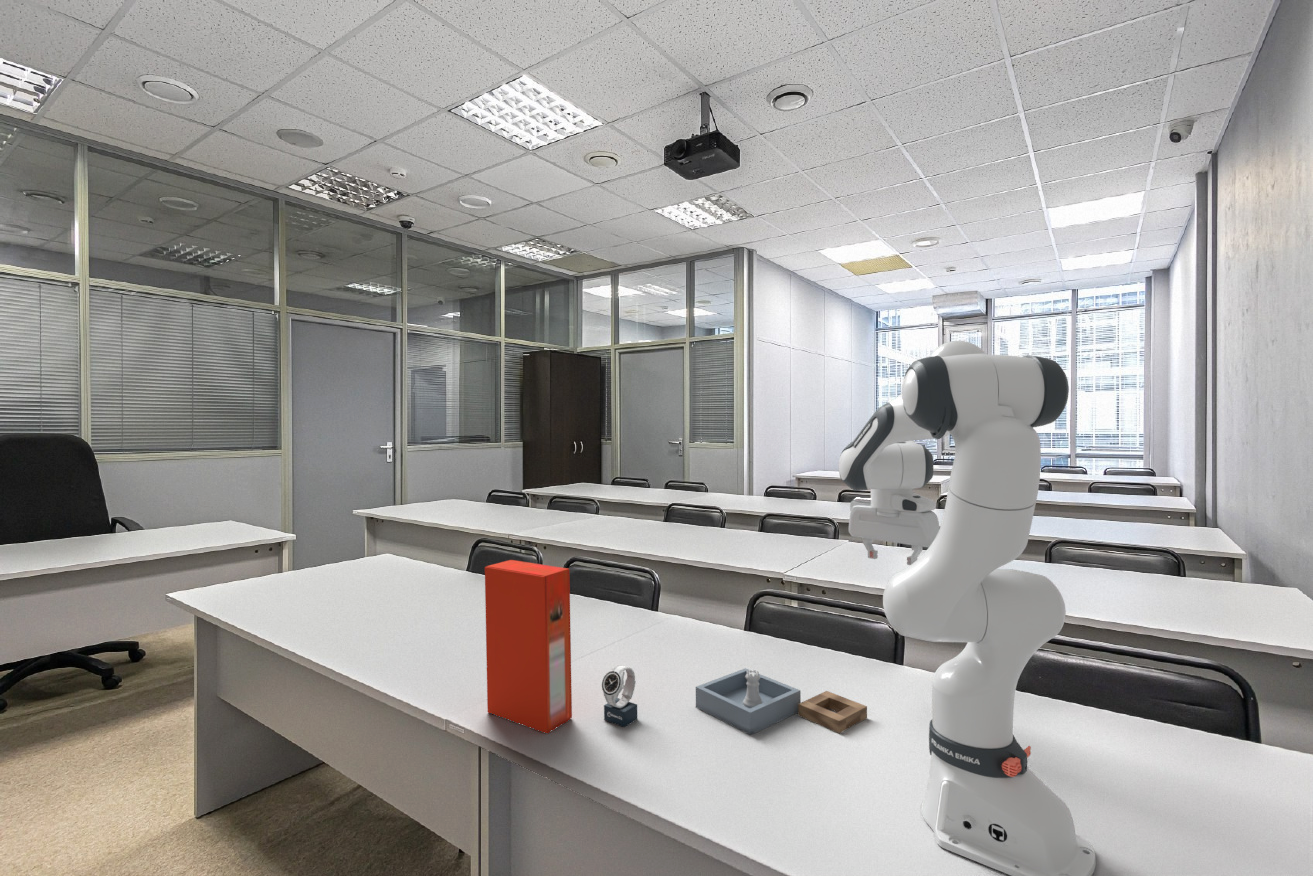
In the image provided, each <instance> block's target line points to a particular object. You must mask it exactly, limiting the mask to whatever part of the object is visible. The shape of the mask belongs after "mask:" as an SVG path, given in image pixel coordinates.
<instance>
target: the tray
mask: <svg viewBox="0 0 1313 876" xmlns="http://www.w3.org/2000/svg"><path fill="white" fill-rule="evenodd" d="M749 670H750V669H748V668H742V669H740V670H737V671H735V672H731V673H728V674H727V675H724V676H722V677H718V678H716V679H714V680H710V681H707V682H705V683H702V684H700V685H697V686H695V708H697V709H698V710H701V711H702V712H705V713H706V714H708V715H710V716H712V717H714V718H716V719H718V720H720V721H722V722H724V723H726V724H728V725H730V726H732V727H734V728H736V729H737V730H740V731H742V732H743V733H745V734H747V735H749V736H752V735H754V734H756V733H758V732H761V731H762V730H764V729H767V728H768V727H771V726H772V725H775V724H777V723H779V722H781V721H783V720H785V719H788V718H790V717H791V716H793V715H796V714H797V713H798V714H799V703H801V700H802V699H801V694H802V693H801V690H800V689H798V688H795V687H794V686H790V685H788V684H786V683H783V682H781V681H778V680H775V679H773V678H771V677H769V676H766V675H763V674H761V673H759V675H760V677H761V678H760V679H759V681H758V682H759V684H760V685H759V695H760V697H761V700H762V701H763V703H762V704H760V705H757V706H755V707H753V708H750V709H749V708H747V707H745V706H743V705H744V704H743V700H744V699H745V696H746V694H747V684H746V683H747V679H746V677H745V676H746V674H747V671H749ZM751 672H753V670H751Z"/></svg>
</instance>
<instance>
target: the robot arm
mask: <svg viewBox="0 0 1313 876" xmlns="http://www.w3.org/2000/svg"><path fill="white" fill-rule="evenodd" d="M910 364H911V365H909V367H908V368H907V369H906V372H905V375H904V378H903V381H902V385H901V394H899V395H898V396H896V397H895V398H893V399H892V400H890V401H889V402H886V403H885V404H883V405H882V406H879V407H878V408H877V410H875V412H874V413H873V415H871V416H870V418H869V419H868V420H867V422H866V423H865V425H863V427H862V429H861V430H860V432H859V433H858V434H857V436H856V437H855V438H854V439H853V440H852V441H851V442H850V443H848V444H847V445H846V447H845V448H844V449H843V450H842V451H841V453H840V456H839V461H838V472H839V477H840V480H841V481H842V482H843V484H844V485H846V486H847V487H849V489H851V490H853V491H854V492H855V491H866V490H867V491H868V490H870V497H861V496H857V497H855V498H853V499H852V500H851V501H850V503H849V507H850V508H849V510H850V511H849V512H850V514H849V522H848V534H850V536H851V537H852V538H853V537H855V538H860V539H861V538H862V543H863V546H864V547H865V549H866V551H867V558H868V559H872V560H876V559H878V550H875V548H874V546H873V544H872V543H874V540H876V541H882V542H889V543H895V544H900V545H901V544H902V545H909V546H911V551H913V552H912V554H911V555H909V556H906V564H907V567H905V568H904V569H902V570H899V571H898V572H896V573H894V574H893V575H892V576H891V577H890V578H889V580H888V581H887V583H886V584H885V588H884V590H883V594H882V607H883V611H884V615H885V616H886V619H887V621H888V623H889V624H890V626H891V627H892V628H893V629H894V630H895V631H896V633H898V634H899V635H900V636H904V637H908V638H912V639H917V640H922V641H926V642H932V643H966V645H965V647H964V649H963V650H962V651H961V652H960V653H958V654H957V655H956V656H955V657H953V658H951V659H949V660H947V661H945V662H943V663H942V664H940V665H939V667H938V668H937V669H936V671H935V672H934V674H933V677H932V680H931V702H932V703H931V704H932V706H931V709H932V711H931V714H932V715H931V720H930V721H929V728H928V729H929V730H928V732H929V733H928V750H929V755H930V767H929V776H928V781H927V786H926V791H925V795H924V798H923V800H922V804H921V807H920V808H921V809H920V810H921V812H920V813H921V816H922V817H923V819H924V821H925V822H926V824H927V825H928V826H929V827H930V828H931V829H932V831H933V832H934V837H935V841H936V843H937V844H938V845H939V847H941V848H943V849H944V850H947V851H949V852H952V853H954V854H956V855H960V856H962V857H964V858H967V859H970V860H971V861H974V862H977V863H979V864H982V865H984V866H986V867H989V868H992V869H993V870H996V871H998V872H1002V873H1003V874H1006V875H1009V876H1093V874H1094V872H1095V870H1096V865H1097V861H1096V860H1097V859H1096V853H1095V850H1094V847H1093V845H1092V844H1091V843H1090V841H1089V840H1087V839H1086V838H1083V837H1081V836H1079V835H1078V834H1077V833H1076V828H1075V827H1076V826H1075V823H1074V820H1073V819H1074V818H1073V816H1072V812H1071V811H1070V809H1069V807H1068V805H1067V804H1066V802H1064V800H1062V799H1061V797H1059V796H1058V795H1057V794H1056V793H1055V792H1054V791H1052V789H1051V788H1050V787H1048V785H1046V784H1045V782H1044V781H1042V780H1041V779H1040V777H1039V776H1037V775H1036V773H1034V772H1033V771H1032V770H1031V769H1030V767H1028V758H1029V757H1030V756H1031V753H1032V751H1031V748H1032V746H1031V745H1028V746H1027V747H1026V748H1024V749H1023V747H1022V746H1021V745H1020V744H1019V742H1018V741H1017V738H1016V737H1015V735H1014V712H1015V711H1014V708H1015V697H1016V696H1015V695H1016V689H1017V685H1018V681H1019V679H1020V676H1021V674H1022V672H1023V670H1024V668H1025V667H1026V665H1027V663H1028V662H1029V661H1030V659H1031V658H1032V656H1033V655H1034V654H1035V653H1036V652H1038V650H1039V649H1040V648H1041V647H1042V646H1043V645H1045V644H1046V643H1047V642H1049V641H1050V640H1052V639H1054V638H1055V637H1057V636H1058V635H1059V633H1060V632H1061V631H1062V628H1063V626H1064V624H1065V621H1066V615H1067V614H1066V611H1067V610H1066V603H1065V600H1064V597H1063V595H1062V594H1061V592H1060V589H1059V588H1058V587H1057V586H1056V584H1054V582H1053V581H1052V580H1051V579H1050V578H1049V577H1047V576H1045V575H1042V574H1038V573H1033V572H1029V571H1023V570H1018V569H1013V568H1012V569H1011V568H1010V569H1009V568H1007V569H1006V568H1000V567H1004V565H1007V564H1009V563H1011V562H1012V561H1014V560H1016V559H1017V558H1019V557H1020V556H1021V555H1022V554H1023V552H1024V550H1025V549H1026V547H1027V546H1028V542H1029V537H1030V533H1031V528H1032V523H1033V519H1034V518H1033V517H1034V513H1035V509H1036V504H1037V499H1038V495H1039V490H1040V489H1039V487H1040V480H1041V479H1040V478H1041V467H1042V464H1041V463H1042V461H1041V460H1042V458H1041V456H1042V453H1041V452H1042V451H1041V449H1042V448H1041V439H1040V436H1039V434H1038V432H1037V431H1036V430H1035V429H1034V428H1038V427H1042V426H1043V427H1044V426H1046V425H1049V424H1052V423H1054V422H1055V421H1056V420H1057V419H1058V418H1059V417H1060V416H1061V415H1062V413H1063V412H1064V410H1065V409H1066V406H1067V403H1068V399H1069V393H1070V392H1069V390H1070V387H1069V380H1068V378H1067V374H1066V373H1065V371H1064V370H1063V368H1062V367H1061V366H1060V364H1059V363H1058V362H1056V361H1055V360H1053V359H1050V358H1047V357H1042V356H1038V355H1029V354H1028V355H1024V356H1019V355H1018V356H1017V355H1005V354H1004V355H1003V354H1002V355H1001V354H987V353H986V352H985V351H984V350H983V349H982V348H981V347H980V346H978V345H976V344H975V343H972V342H969V341H964V340H952V341H951V340H950V341H947V342H944V343H942V344H941V345H939V346H938V347H936V348H935V349H934V350H933V351H932V352H931V354H929V356H927V357H923V358H919V359H916V360H915V361H913V362H912V363H910ZM950 435H951V437H952V439H953V443H954V449H955V450H954V457H953V463H952V468H951V471H950V476H949V483H948V489H947V495H946V502H945V504H944V505H945V506H944V510H943V515H942V519H941V521H940V522H941V523H940V522H939V517H938V515H937V514H936V513H935V512H934V510H935V509H936V507H937V504H936V503H937V502H936V501H935V500H934V499H931V498H929V497H926V496H924V495H921V494H920V493H916V492H914V489H919V488H920V489H921V488H923V487H925V486H927V484H928V483H930V481H931V480H932V478H933V477H934V455H933V453H931V452H930V450H929V449H928V448H926V447H925V445H923V444H920V443H919V444H918V443H917V442H915V441H920V440H921V441H923V440H932V439H933V440H935V439H936V440H940V439H942V438H945V437H948V436H950ZM923 547H924V548H927V549H926V550H925V551H924V553H923V554H922V551H923ZM920 554H922V555H920ZM918 557H919V558H918Z"/></svg>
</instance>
